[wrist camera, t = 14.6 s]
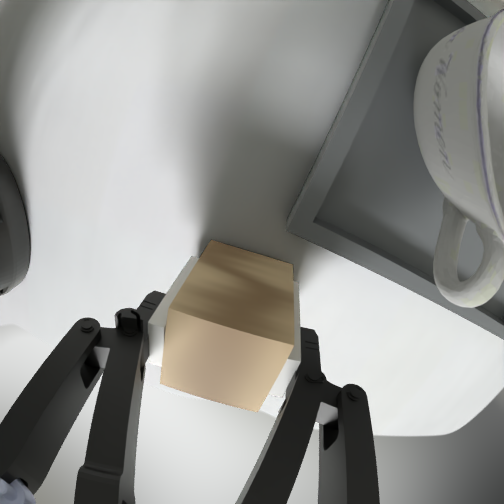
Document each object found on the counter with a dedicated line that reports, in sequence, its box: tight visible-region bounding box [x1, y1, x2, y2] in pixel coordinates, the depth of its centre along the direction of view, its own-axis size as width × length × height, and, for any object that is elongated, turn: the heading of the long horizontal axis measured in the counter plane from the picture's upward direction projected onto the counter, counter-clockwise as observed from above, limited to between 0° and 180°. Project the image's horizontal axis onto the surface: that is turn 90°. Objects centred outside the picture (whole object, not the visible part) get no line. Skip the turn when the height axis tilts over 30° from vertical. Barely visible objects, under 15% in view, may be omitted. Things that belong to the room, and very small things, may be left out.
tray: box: [286, 0, 504, 340], centre depth 12 cm, size 21×18×2 cm
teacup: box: [413, 9, 504, 308], centre depth 9 cm, size 14×11×8 cm
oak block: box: [160, 240, 294, 412], centre depth 15 cm, size 5×5×7 cm
